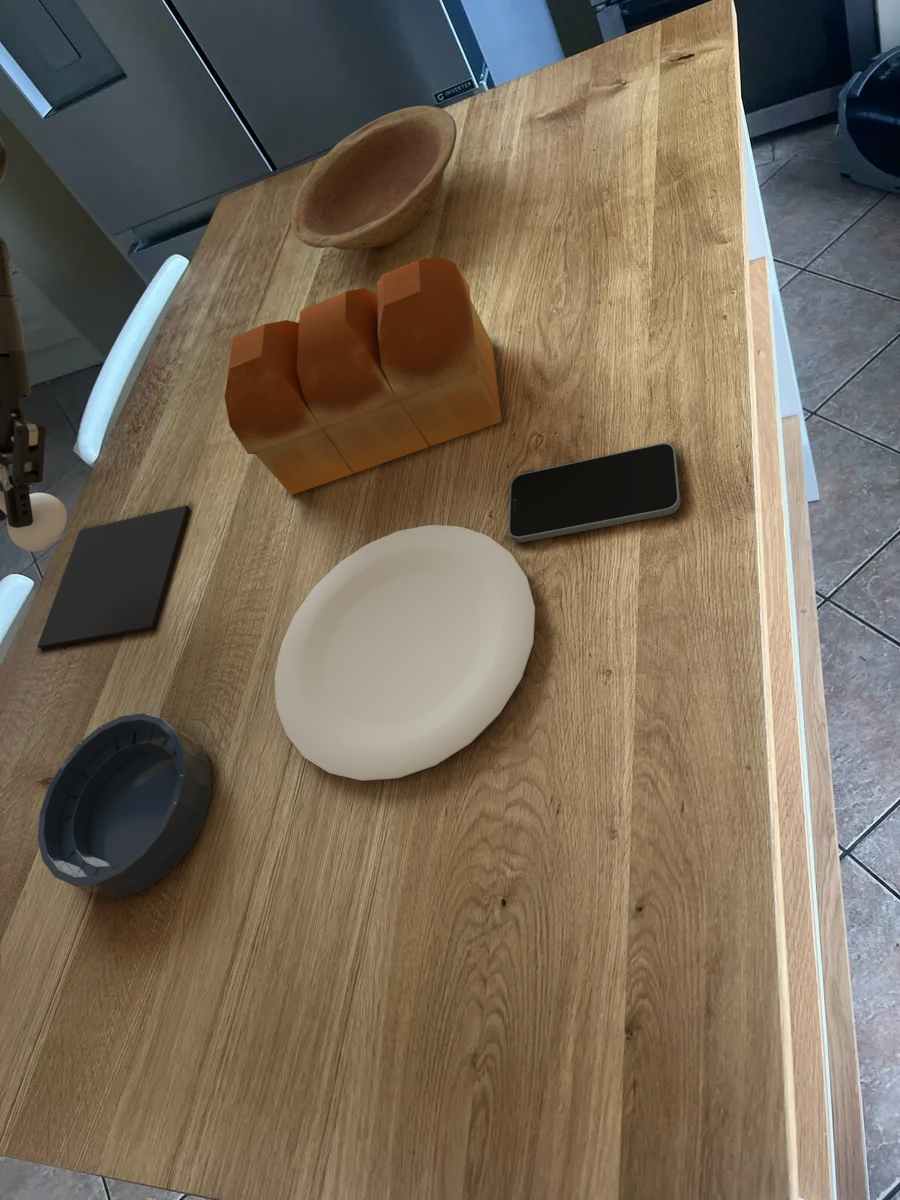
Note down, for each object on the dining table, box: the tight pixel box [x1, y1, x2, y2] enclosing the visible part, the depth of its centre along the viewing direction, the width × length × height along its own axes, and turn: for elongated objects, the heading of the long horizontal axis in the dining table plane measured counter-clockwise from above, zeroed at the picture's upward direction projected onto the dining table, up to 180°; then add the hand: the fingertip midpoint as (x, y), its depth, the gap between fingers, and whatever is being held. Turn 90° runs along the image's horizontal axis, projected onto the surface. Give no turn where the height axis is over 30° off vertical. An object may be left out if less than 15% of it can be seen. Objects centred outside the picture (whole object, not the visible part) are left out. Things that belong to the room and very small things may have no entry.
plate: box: [274, 524, 537, 782], centre depth 79 cm, size 25×25×2 cm
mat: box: [37, 505, 190, 650], centre depth 101 cm, size 16×16×1 cm
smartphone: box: [508, 442, 681, 543], centre depth 79 cm, size 7×1×15 cm
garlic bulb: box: [0, 491, 68, 553], centre depth 92 cm, size 6×6×8 cm
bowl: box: [290, 105, 458, 251], centre depth 114 cm, size 24×24×8 cm
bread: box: [224, 256, 503, 496], centre depth 91 cm, size 25×12×15 cm, turn 93°
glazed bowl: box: [37, 712, 212, 898], centre depth 80 cm, size 15×15×4 cm
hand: (8, 522), depth 91 cm, fingers closed on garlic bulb, 4 cm apart
